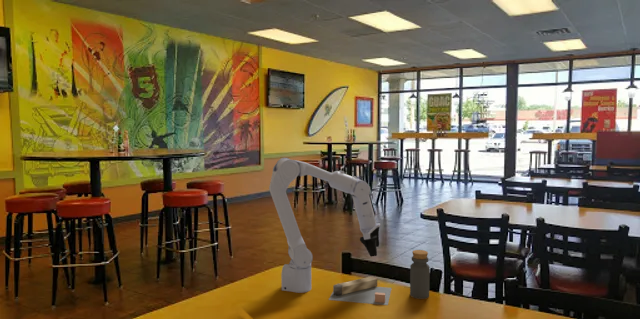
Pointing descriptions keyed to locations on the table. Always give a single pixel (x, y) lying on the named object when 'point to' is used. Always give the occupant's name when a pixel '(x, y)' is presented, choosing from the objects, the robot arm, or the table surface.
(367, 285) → the stool leg
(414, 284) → the bottle
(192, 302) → the table surface
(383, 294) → the leg stop
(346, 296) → the stool seat
